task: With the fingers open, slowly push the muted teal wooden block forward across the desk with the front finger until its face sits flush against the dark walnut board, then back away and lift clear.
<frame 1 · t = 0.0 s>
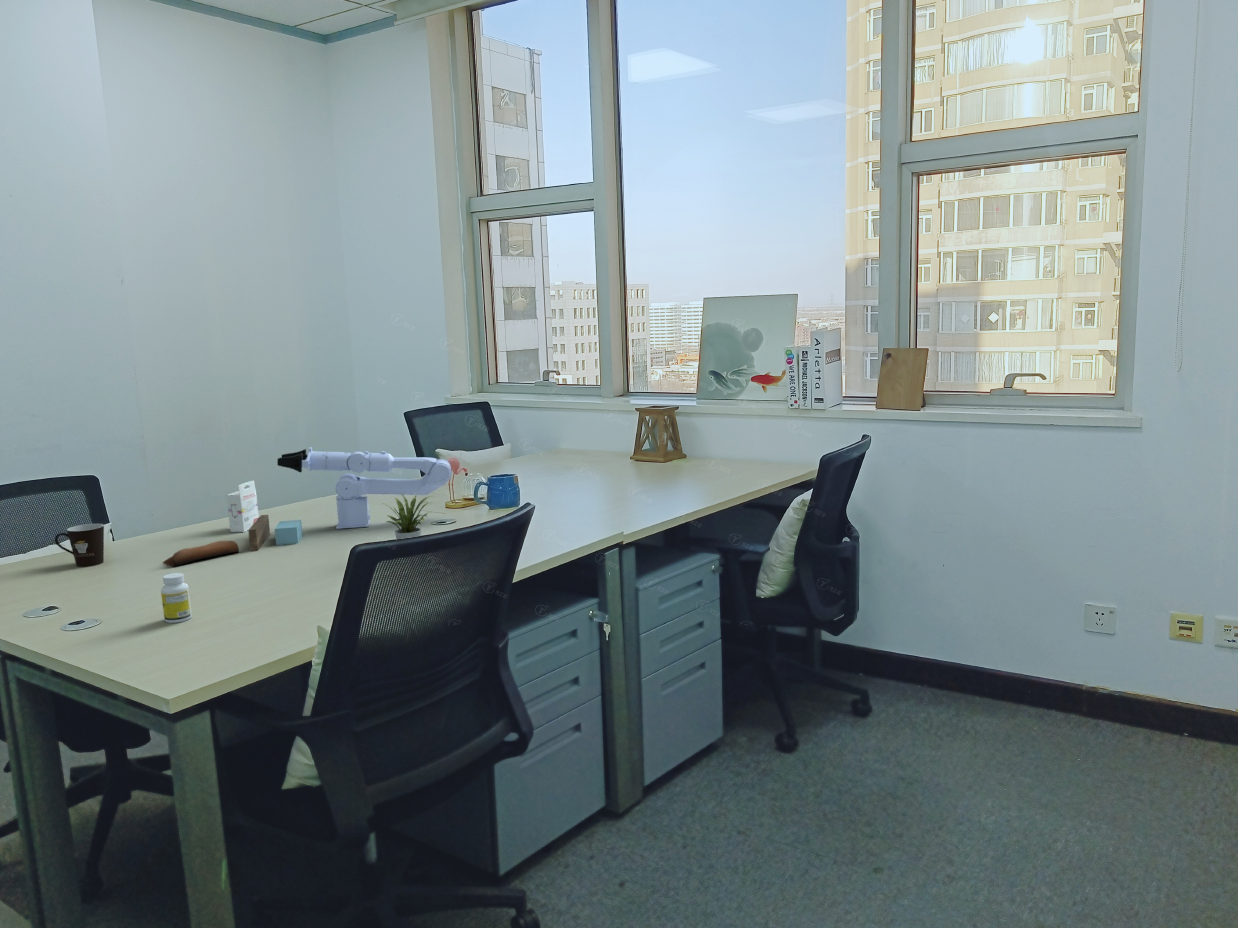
hand: (279, 459, 277), 22 cm above the table, tool horizontal, fingers open, 7 cm apart
sweet potato: (200, 560, 250), on the table
house plant: (414, 553, 249), on the table
supplement bottle: (178, 620, 198), on the table
coffee mug: (85, 563, 248), on the table
ink cartridge box: (245, 529, 284), on the table
teal block: (289, 541, 268), on the table
walnut board: (260, 542, 266), on the table
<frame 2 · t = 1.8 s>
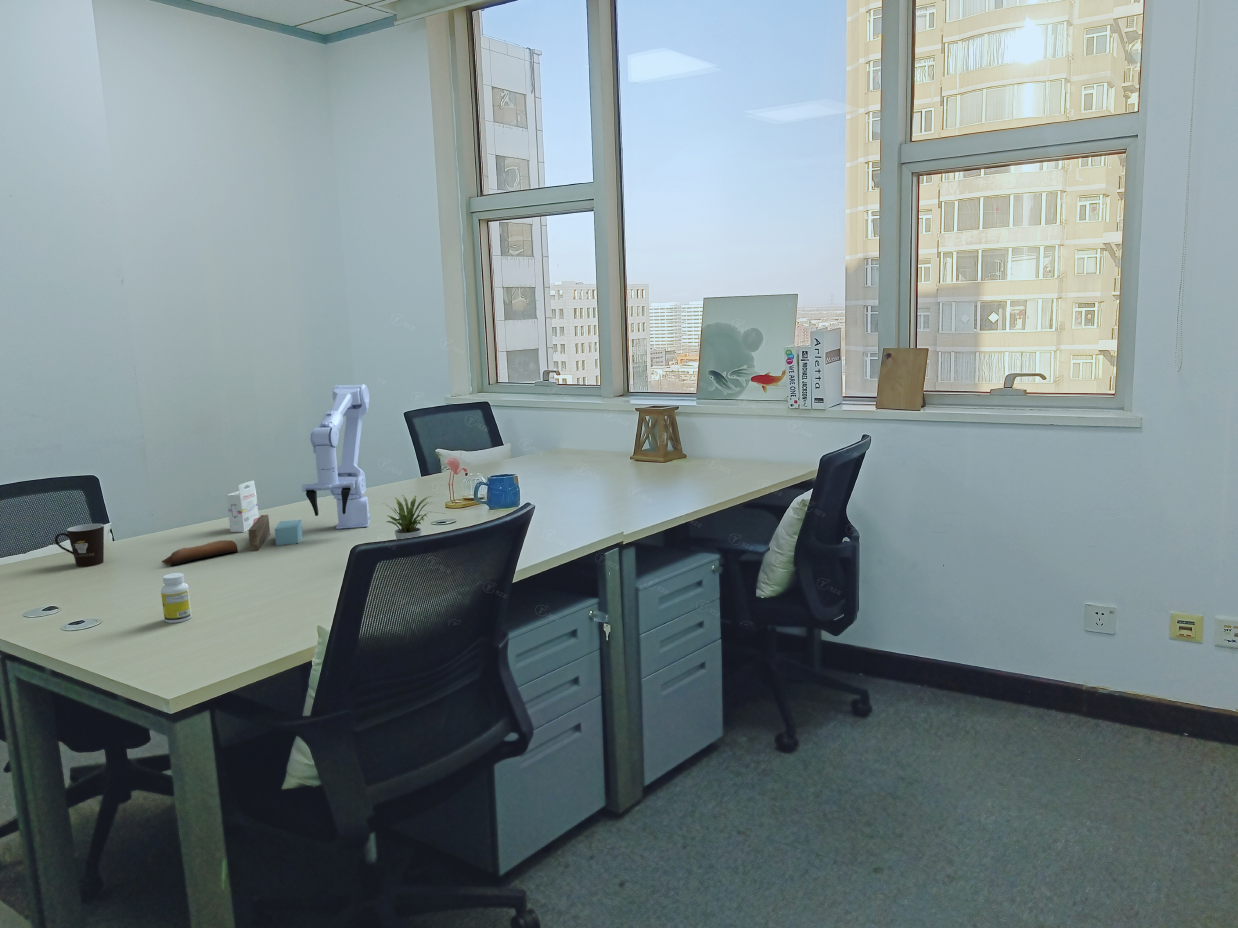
hand: (330, 514, 269), 7 cm above the table, tool pointing down, fingers open, 7 cm apart
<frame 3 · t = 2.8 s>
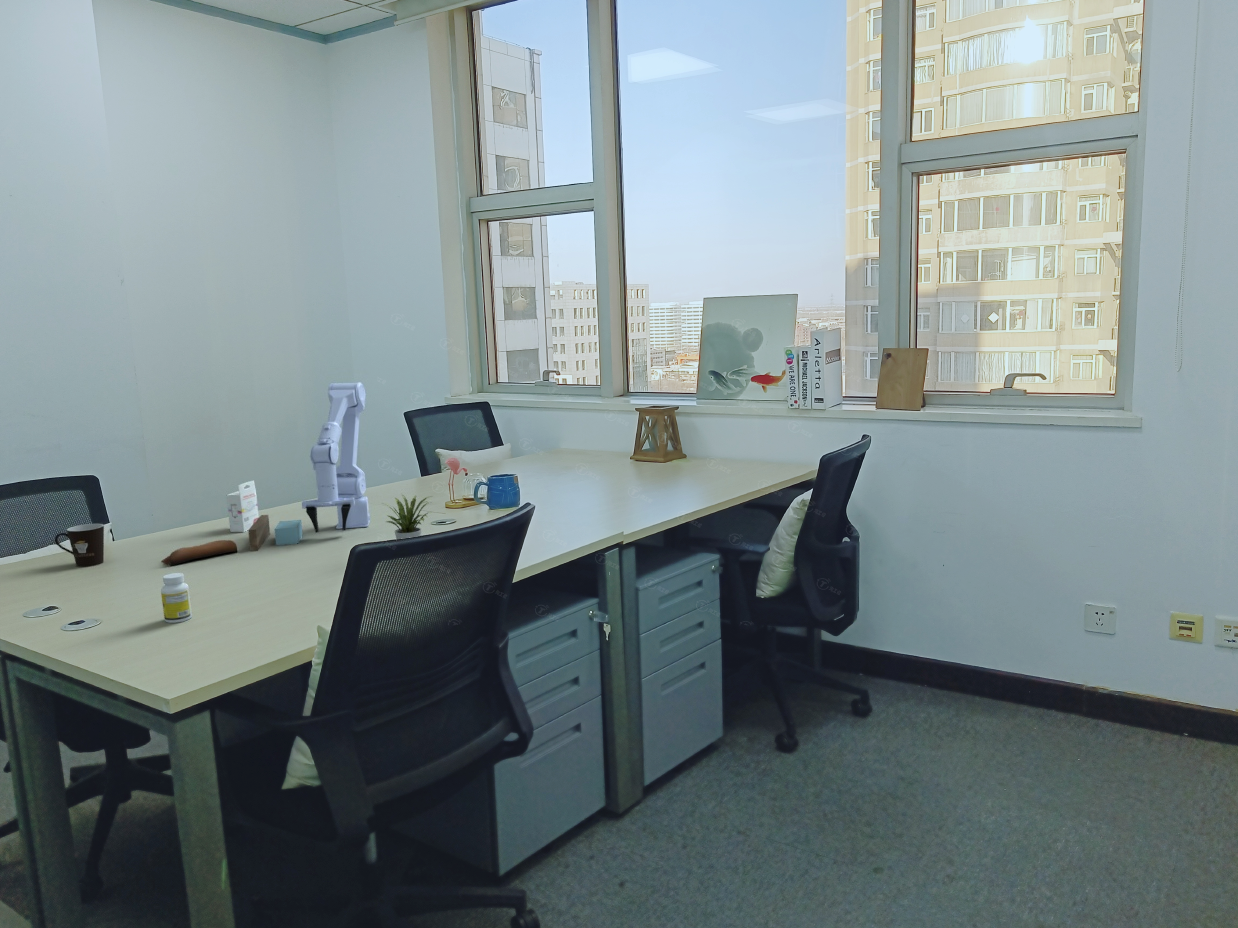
hand: (330, 530, 269), 2 cm above the table, tool pointing down, fingers open, 7 cm apart
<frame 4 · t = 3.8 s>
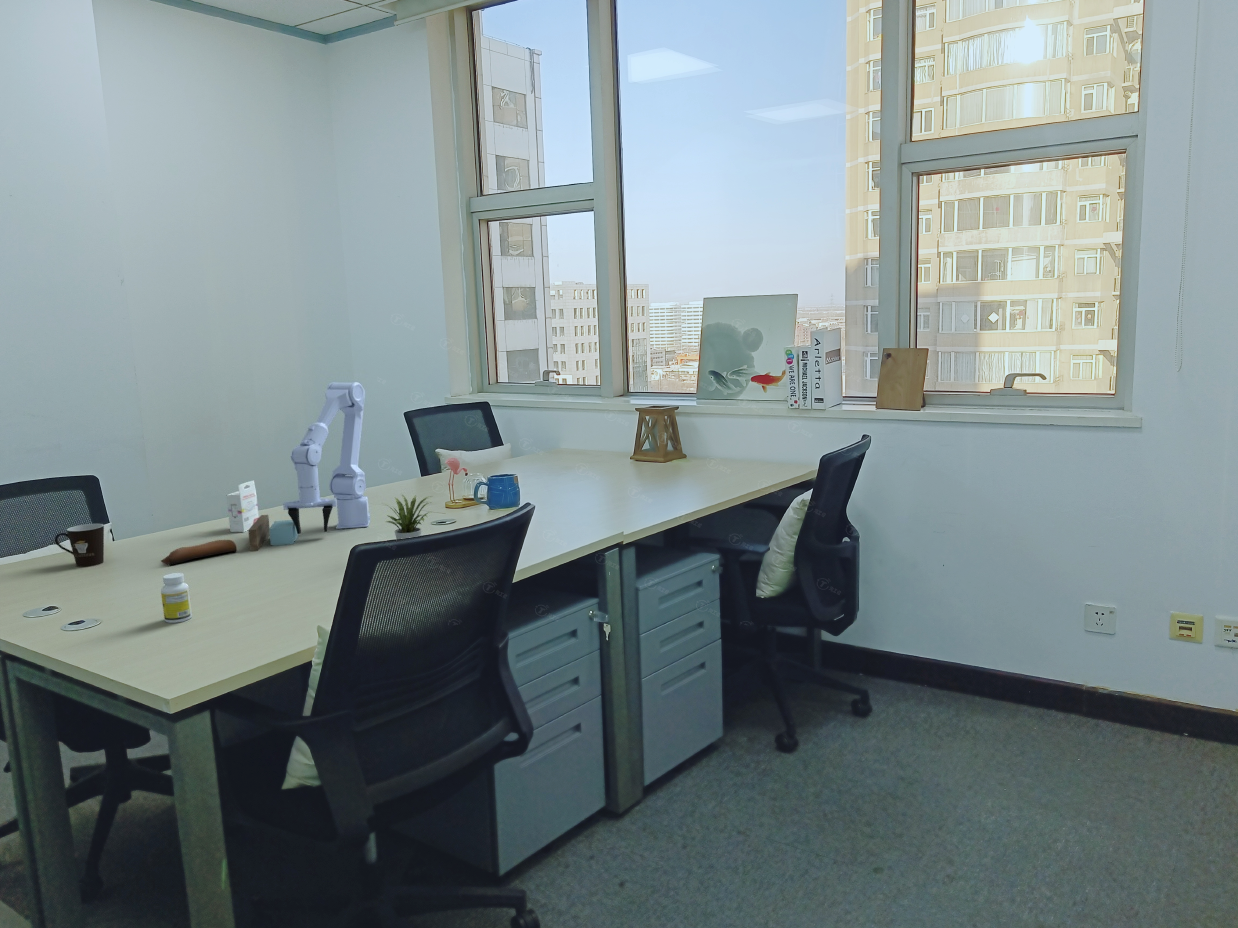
hand: (312, 532, 268), 2 cm above the table, tool pointing down, fingers open, 7 cm apart
teal block: (284, 540, 267), on the table, touching gripper
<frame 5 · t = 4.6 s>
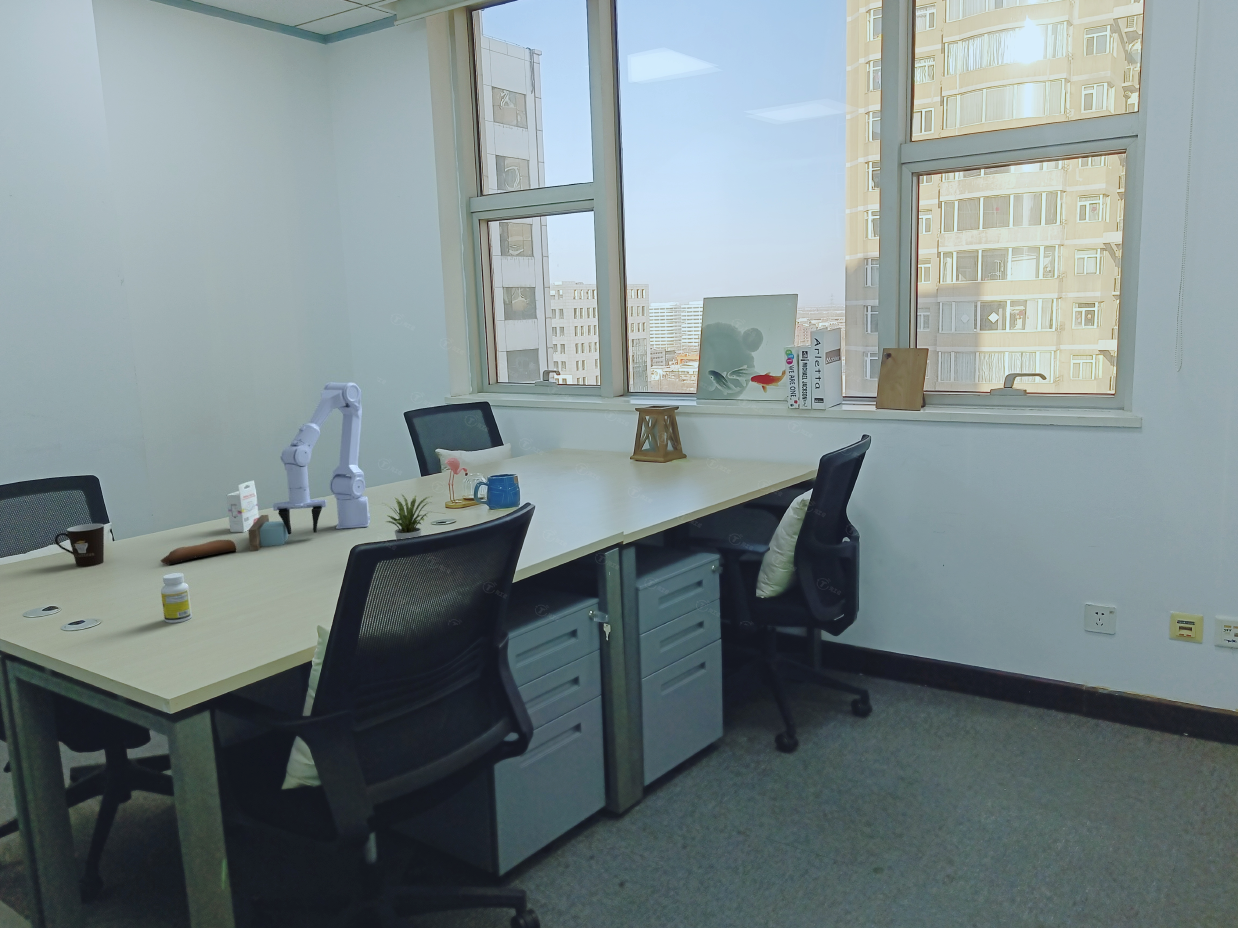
hand: (302, 532, 268), 2 cm above the table, tool pointing down, fingers open, 6 cm apart
teal block: (275, 541, 267), on the table, touching gripper, walnut board
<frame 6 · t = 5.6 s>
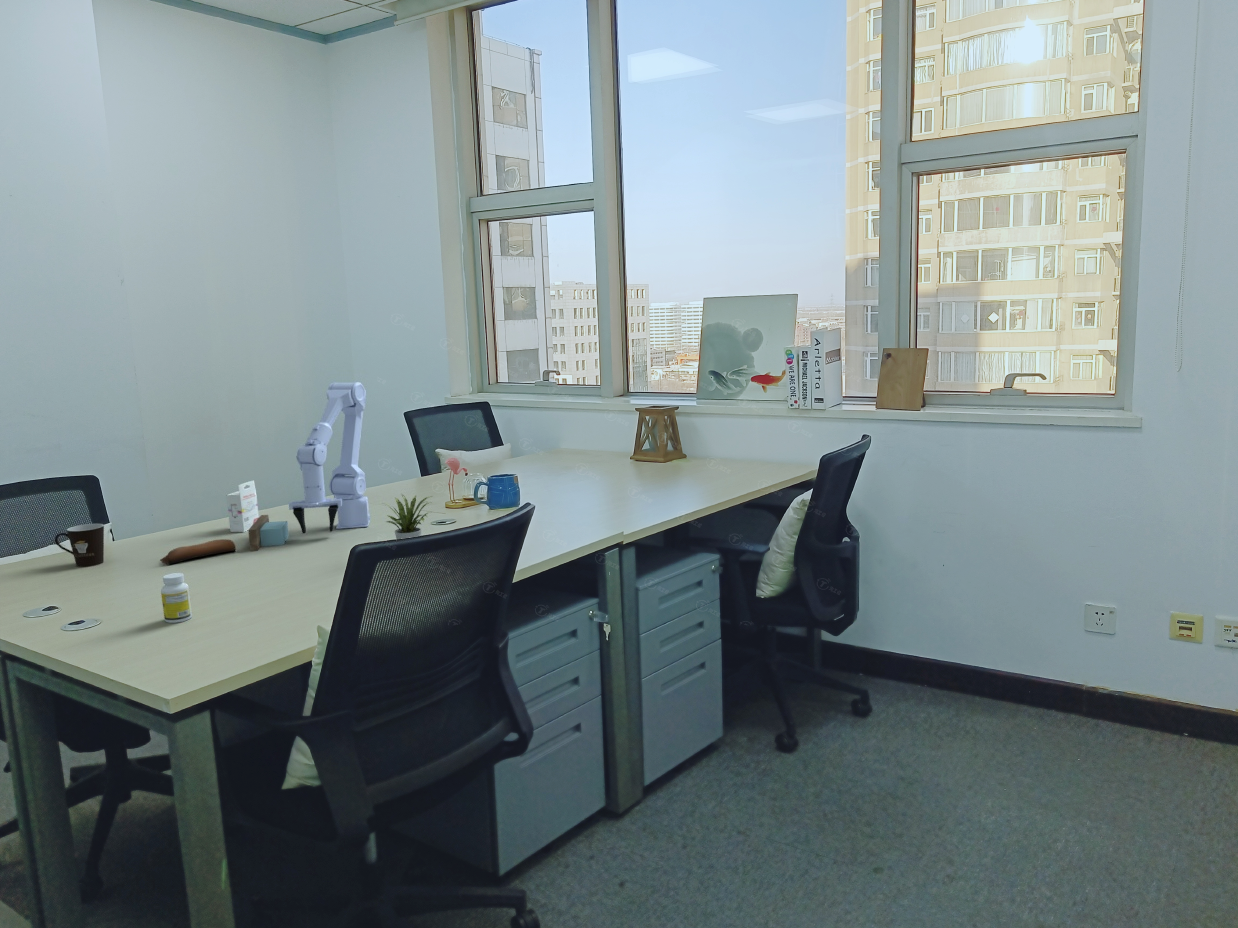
hand: (318, 531, 269), 2 cm above the table, tool pointing down, fingers open, 7 cm apart
teal block: (275, 542, 267), on the table
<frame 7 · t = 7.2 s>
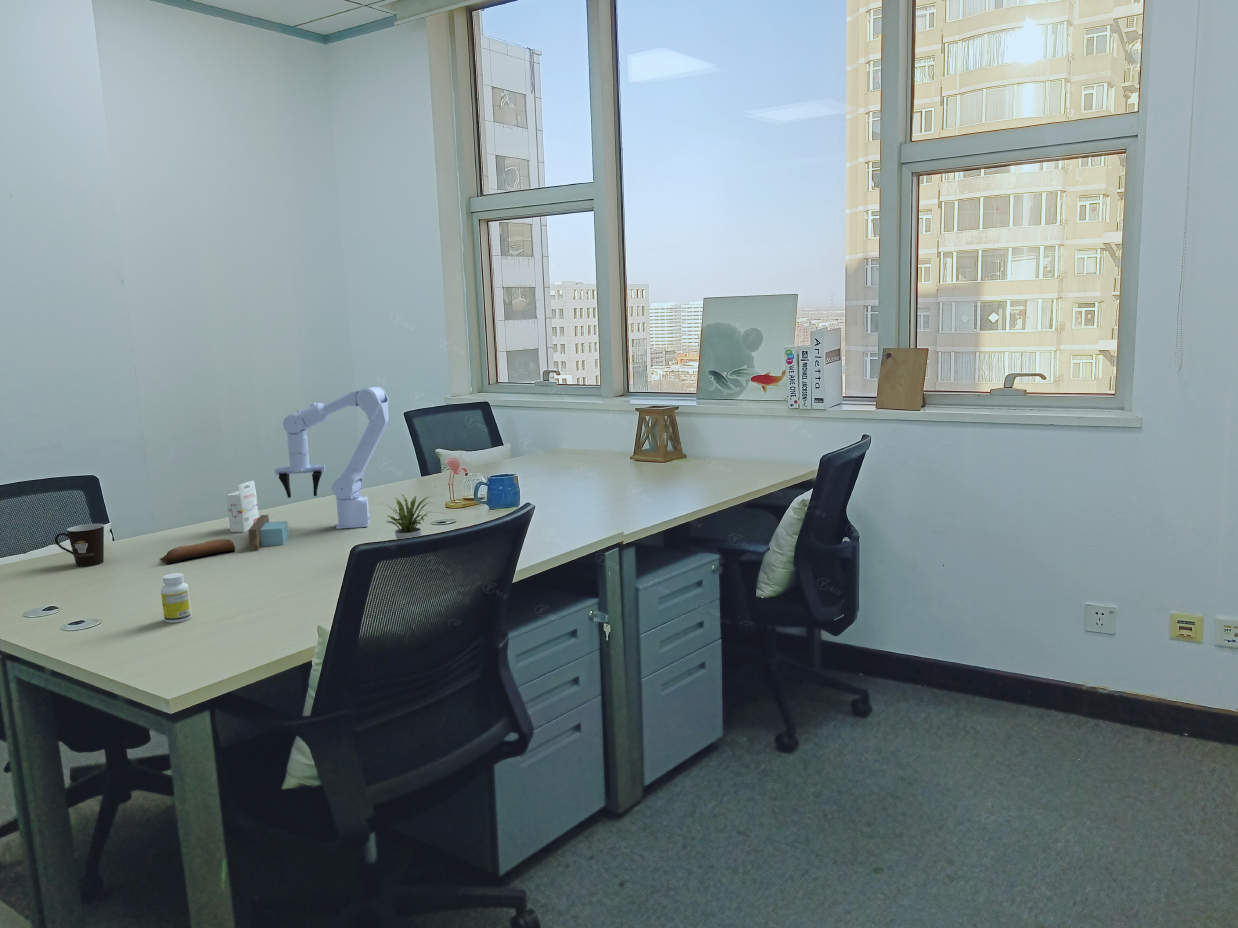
hand: (302, 496, 284), 9 cm above the table, tool pointing down, fingers open, 7 cm apart
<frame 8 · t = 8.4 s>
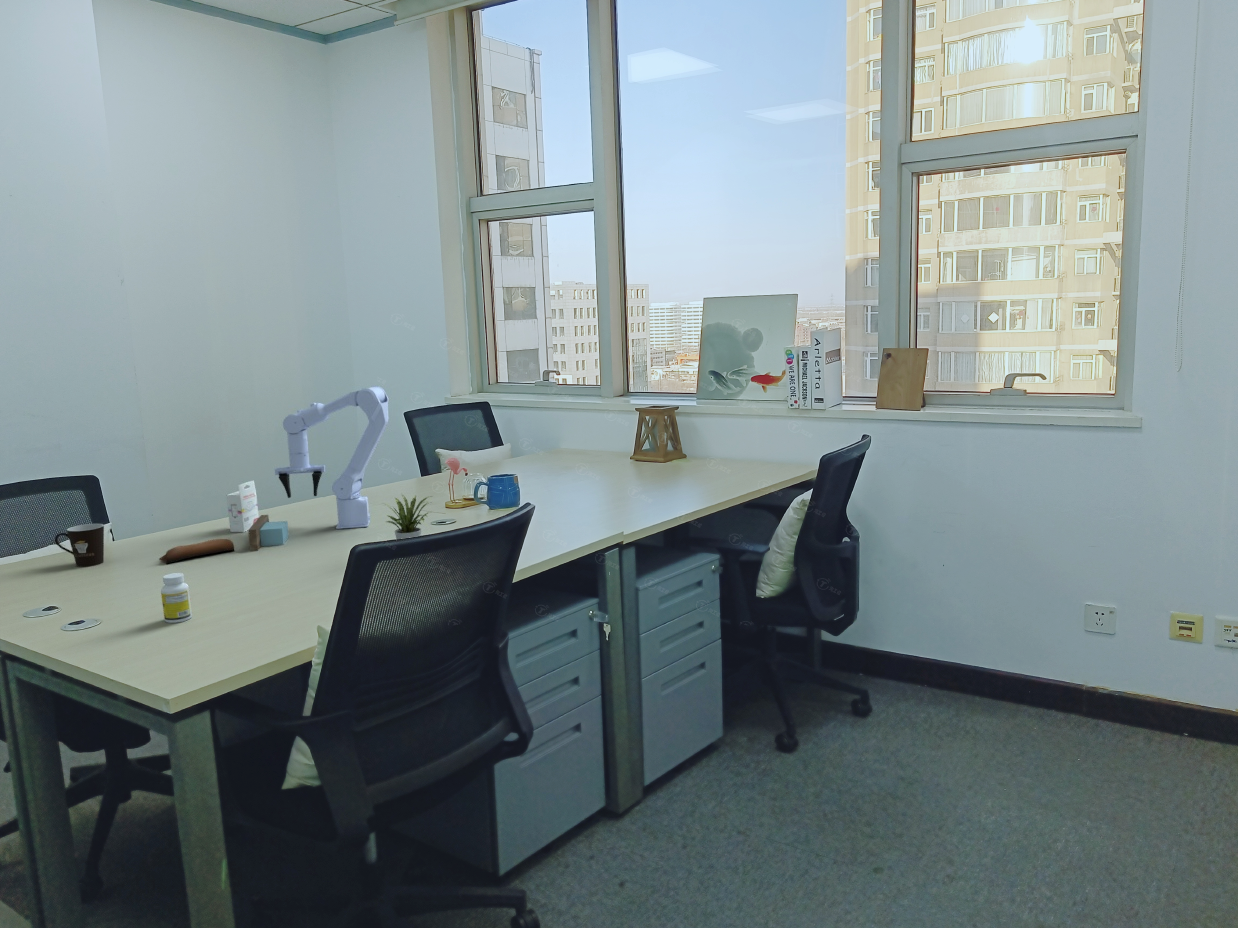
hand: (302, 496, 284), 9 cm above the table, tool pointing down, fingers open, 7 cm apart
at the end: teal block 0.3 cm from the target spot on the table beside the walnut board, on the table; teal block tilted 0° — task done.
